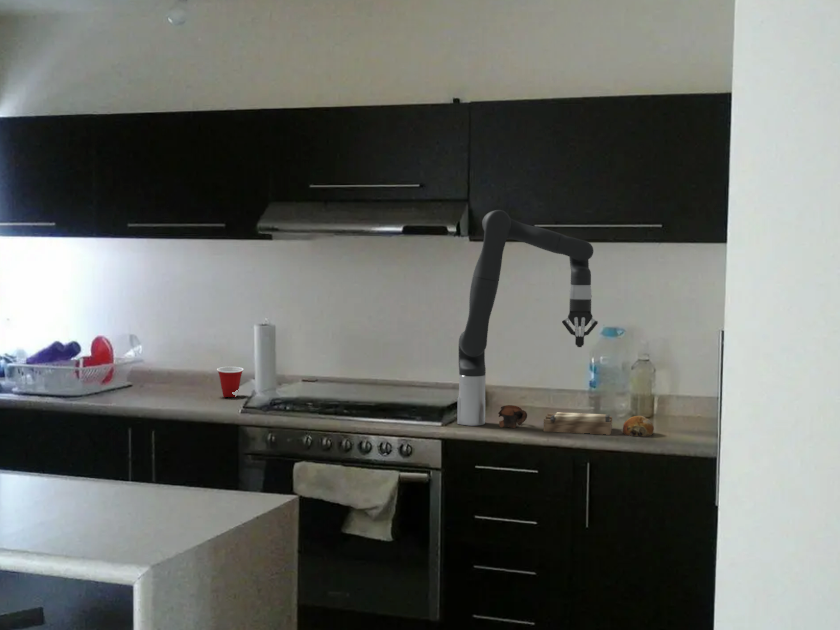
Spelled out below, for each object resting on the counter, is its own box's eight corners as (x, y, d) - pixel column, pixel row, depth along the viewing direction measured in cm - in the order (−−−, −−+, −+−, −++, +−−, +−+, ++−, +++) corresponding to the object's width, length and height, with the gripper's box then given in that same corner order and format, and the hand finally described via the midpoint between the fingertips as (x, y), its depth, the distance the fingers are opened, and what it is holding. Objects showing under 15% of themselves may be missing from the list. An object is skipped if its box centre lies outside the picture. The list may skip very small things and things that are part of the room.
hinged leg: (549, 423, 309) (549, 416, 309) (551, 421, 312) (550, 414, 312) (609, 423, 304) (608, 416, 304) (609, 421, 307) (609, 414, 307)
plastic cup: (220, 399, 371) (220, 370, 371) (214, 395, 381) (214, 367, 380) (246, 398, 376) (246, 369, 375) (240, 394, 386) (240, 366, 385)
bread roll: (656, 445, 303) (662, 423, 305) (640, 436, 297) (647, 413, 299) (630, 441, 310) (636, 419, 312) (614, 432, 304) (621, 409, 306)
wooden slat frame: (543, 431, 308) (543, 416, 308) (547, 424, 320) (547, 410, 319) (610, 434, 303) (610, 420, 302) (611, 428, 314) (612, 414, 314)
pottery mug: (491, 428, 317) (493, 405, 320) (507, 436, 323) (509, 414, 326) (519, 423, 309) (521, 400, 313) (535, 432, 315) (537, 409, 319)
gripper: (560, 298, 319) (559, 347, 320) (598, 298, 316) (598, 348, 317) (562, 297, 326) (561, 345, 327) (600, 297, 323) (599, 346, 324)
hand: (579, 347), depth 322 cm, fingers closed
